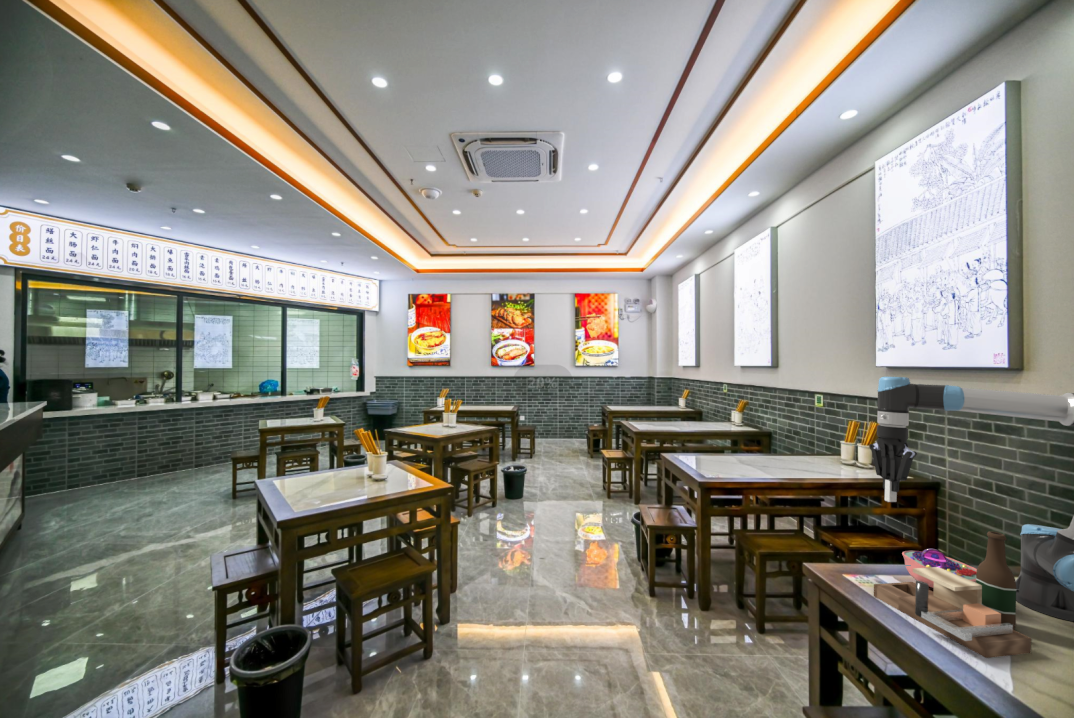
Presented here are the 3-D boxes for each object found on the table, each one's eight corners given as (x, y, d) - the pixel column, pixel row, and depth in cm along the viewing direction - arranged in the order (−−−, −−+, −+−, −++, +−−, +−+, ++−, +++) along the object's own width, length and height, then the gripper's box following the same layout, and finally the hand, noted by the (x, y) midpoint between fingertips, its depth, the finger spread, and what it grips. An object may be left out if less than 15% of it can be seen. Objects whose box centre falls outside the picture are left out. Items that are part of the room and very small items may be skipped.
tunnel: (937, 595, 118) (938, 567, 118) (981, 616, 108) (981, 585, 108) (912, 597, 116) (912, 568, 116) (954, 618, 106) (954, 587, 107)
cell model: (926, 601, 121) (927, 562, 122) (891, 570, 140) (892, 537, 141) (1001, 614, 116) (1001, 573, 117) (953, 580, 135) (954, 545, 136)
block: (978, 619, 107) (978, 603, 107) (1000, 629, 102) (1001, 613, 103) (963, 620, 106) (963, 604, 106) (985, 631, 101) (985, 614, 102)
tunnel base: (911, 593, 125) (911, 581, 126) (1030, 653, 99) (1031, 638, 100) (873, 596, 123) (873, 584, 123) (986, 658, 97) (986, 642, 97)
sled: (961, 608, 111) (962, 577, 111) (1017, 635, 100) (1018, 601, 100) (912, 612, 108) (913, 581, 108) (964, 641, 97) (965, 605, 97)
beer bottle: (1005, 619, 114) (1007, 531, 114) (1024, 635, 106) (1026, 541, 107) (967, 611, 117) (969, 525, 117) (983, 626, 110) (985, 535, 110)
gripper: (862, 422, 136) (860, 494, 136) (904, 428, 123) (902, 508, 123) (881, 423, 138) (879, 494, 137) (925, 429, 125) (923, 507, 124)
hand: (890, 501), depth 130 cm, fingers closed
